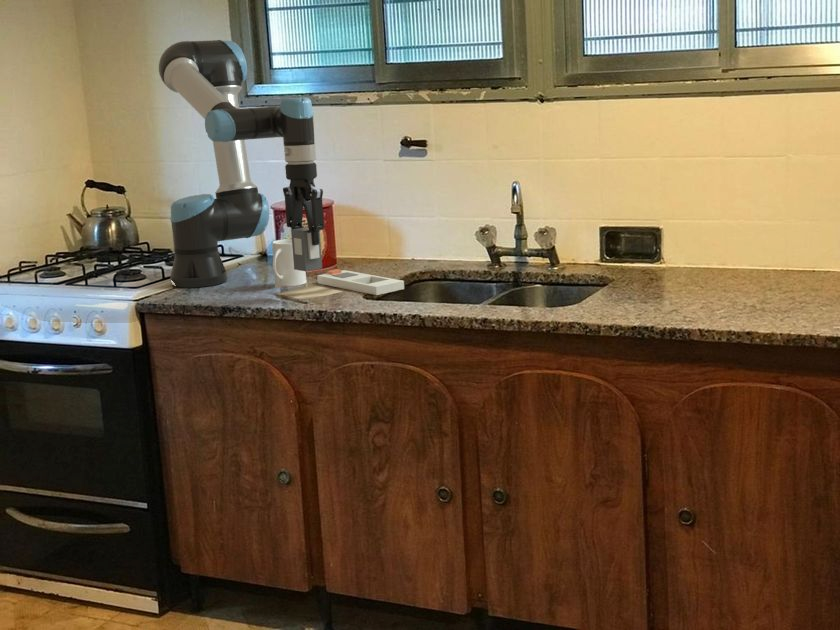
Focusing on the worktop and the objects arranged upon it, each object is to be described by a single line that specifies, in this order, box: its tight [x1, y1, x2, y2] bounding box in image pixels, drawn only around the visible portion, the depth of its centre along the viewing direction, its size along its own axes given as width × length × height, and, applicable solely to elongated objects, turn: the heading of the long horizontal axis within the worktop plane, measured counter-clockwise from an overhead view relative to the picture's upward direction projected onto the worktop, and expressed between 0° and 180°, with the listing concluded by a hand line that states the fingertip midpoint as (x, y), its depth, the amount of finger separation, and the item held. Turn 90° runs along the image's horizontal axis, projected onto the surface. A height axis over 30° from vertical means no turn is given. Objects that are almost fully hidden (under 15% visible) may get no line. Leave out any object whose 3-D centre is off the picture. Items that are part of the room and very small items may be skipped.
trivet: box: [275, 285, 344, 305], centre depth 258 cm, size 12×12×1 cm
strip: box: [315, 268, 405, 296], centre depth 266 cm, size 30×9×4 cm, turn 42°
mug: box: [272, 238, 308, 289], centre depth 269 cm, size 12×8×12 cm
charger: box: [290, 226, 323, 272], centre depth 256 cm, size 5×5×10 cm
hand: (307, 256), depth 256 cm, fingers closed on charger, 5 cm apart
